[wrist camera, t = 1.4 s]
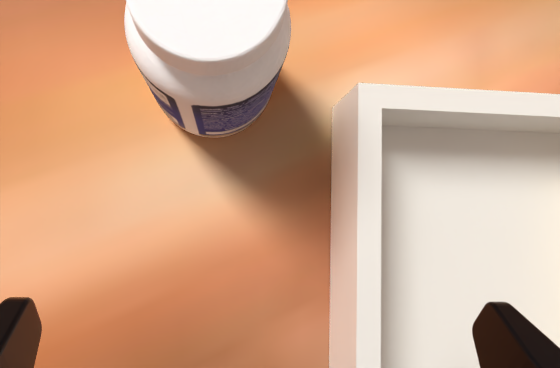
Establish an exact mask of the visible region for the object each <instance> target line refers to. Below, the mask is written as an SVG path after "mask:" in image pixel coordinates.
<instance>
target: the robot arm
mask: <svg viewBox="0 0 560 368" xmlns="http://www.w3.org/2000/svg"><path fill="white" fill-rule="evenodd" d="M41 331H42V325H41V321H40V318H39V315H38V312H37V309H36V306H35V304H34V301H33V300H32V299H31V298H29V297H10V298H7V299H5V300H4V301H3V302H2V303H1V304H0V368H34V364H35V359H36V355H37V351H38V346H39V342H40V337H41ZM472 335H473V340H474V344H475V348H476V352H477V357H478V361H479V365H480V368H560V348H559V347H558V346H557V345H556V344H555V343H554V342H553V341H551V340H550V339H549V338H548V337H547V336H546V335H545V334H544V333H542V332H541V331H540V330H539V329H538V328H537V327H536V326H535V325H533V324H532V323H531V322H530V321H529V320H528V319H527V318H526V317H524V316H523V315H522V314H521V313H520V312H519V311H518V310H517V309H515V308H514V307H513V306H512V305H511V304H509V303H507V302H488V303H486V304H485V305H484V307H483V309H482V310H481V312H480V313H479V315H478V317H477V318H476V320H475V321H474V323H473V326H472Z"/></svg>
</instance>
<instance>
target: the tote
mask: <svg viewBox="0 0 560 368" xmlns="http://www.w3.org/2000/svg"><path fill="white" fill-rule="evenodd" d="M488 302H507V303H509V304H511V305H512V306H513V307H514V308H515V309H517V310H518V311H519V312H520V313H521V314H522V315H523V316H524V317H526V318H527V319H528V320H529V321H530V322H531V323H532V324H533V325H535V326H536V327H537V328H538V329H539V330H540V331H541V332H542V333H544V334H545V335H546V336H547V337H548V338H549V339H550V340H551V341H553V342H554V343H555V344H556V345H557V346H558V347H559V348H560V94H545V93H528V92H510V91H493V90H475V89H457V88H440V87H422V86H404V85H387V84H369V83H358V84H357V85H356V86H355V87H354V88H353V89H351V90H350V91H349V92H348V93H347V94H346V95H345V96H344V97H343V98H342V99H341V100H340V101H339V102H338V103H337V104H335V105H334V106H333V107H332V163H331V248H330V333H329V368H480V365H479V361H478V357H477V352H476V348H475V344H474V340H473V335H472V326H473V323H474V321H475V320H476V318H477V317H478V315H479V313H480V312H481V310H482V309H483V307H484V305H485V304H486V303H488Z"/></svg>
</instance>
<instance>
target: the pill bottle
mask: <svg viewBox="0 0 560 368" xmlns="http://www.w3.org/2000/svg"><path fill="white" fill-rule="evenodd" d="M287 1H288V0H126V8H125V17H124V19H125V33H126V39H127V43H128V46H129V49H130V51H131V54H132V56H133V59H134V61H135V63H136V65H137V67H138V68H139V70H140V72H141V74H142V75H143V77H144V79H145V81H146V83H147V84H148V86H149V88H150V90H151V92H152V93H153V95H154V97H155V99H156V100H157V102H158V104H159V106H160V107H161V109H162V110H163V111H164V113H165V114H166V115H167V116H168V117H169V118H170V120H172V121H173V122H174V123H175V124H176V125H178V126H179V127H180V128H182V129H184V130H186V131H188V132H190V133H192V134H195V135H199V136H203V137H215V138H216V137H225V136H229V135H233V134H236V133H238V132H240V131H242V130H244V129H246V128H247V127H248V126H250V125H251V124H252V123H253V122H255V121H256V120H257V118H258V117H259V116H260V115H261V113H262V112H263V110H264V109H265V107H266V105H267V103H268V101H269V99H270V96H271V93H272V91H273V88H274V86H275V83H276V81H277V79H278V75H279V73H280V70H281V68H282V65H283V63H284V60H285V58H286V55H287V52H288V49H289V42H290V36H291V19H290V12H289V8H288V4H287Z"/></svg>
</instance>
